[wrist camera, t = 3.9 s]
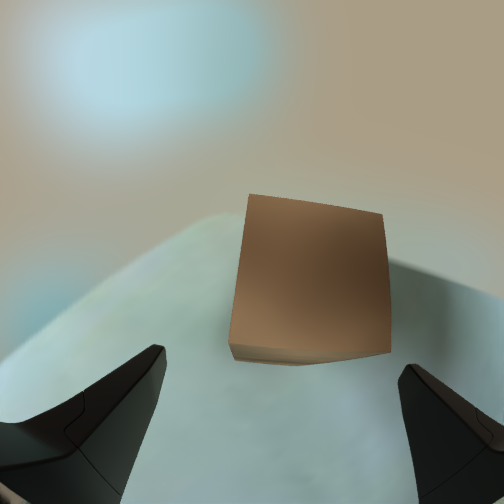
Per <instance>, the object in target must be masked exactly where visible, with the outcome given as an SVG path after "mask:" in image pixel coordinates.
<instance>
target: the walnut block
mask: <svg viewBox="0 0 504 504" xmlns="http://www.w3.org/2000/svg"><path fill="white" fill-rule="evenodd" d="M228 343H229V346H230V349H231V352H232V354H233V357H234V360H237V361H245V362H254V363H264V364H275V365H287V366H303V365H312V364H321V363H329V362H337V361H344V360H350V359H357V358H363V357H369V356H374V355H379V354H385V353H390V352H391V299H390V281H389V267H388V256H387V247H386V238H385V230H384V223H383V216H382V214H377V213H373V212H367V211H361V210H356V209H350V208H344V207H339V206H332V205H327V204H321V203H313V202H307V201H301V200H293V199H287V198H279V197H272V196H264V195H255V194H249V197H248V205H247V211H246V218H245V225H244V232H243V239H242V246H241V253H240V260H239V267H238V274H237V281H236V288H235V296H234V303H233V310H232V318H231V325H230V333H229V340H228Z"/></svg>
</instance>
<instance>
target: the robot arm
mask: <svg viewBox="0 0 504 504" xmlns="http://www.w3.org/2000/svg"><path fill="white" fill-rule="evenodd" d="M166 367H167V360H166V350H165V347H164V346H161V345H156V344H153V345H151V346H150V347H148V348H147V349H145V350H144V351H142V352H141V353H139V354H138V355H136V356H135V357H133V358H132V359H130V360H129V361H127V362H126V363H124V364H123V365H121V366H120V367H118V368H117V369H115V370H114V371H112V372H111V373H109V374H108V375H106V376H105V377H103V378H101V379H100V380H98V381H97V382H95V383H94V384H92V385H91V386H89V387H88V388H86V389H85V390H84V392H83V391H81V392H80V393H78V394H77V395H75V396H74V397H72V398H70V399H69V400H67V401H65V402H63V403H62V404H60V405H58V406H56V407H54V408H52V409H50V410H48V411H45V412H43V413H41V414H39V415H37V416H35V417H32V418H30V419H28V420H26V421H23V422H19V423H5V422H0V504H120V501H121V499H122V495H123V493H124V490H125V487H126V484H127V481H128V479H129V476H130V473H131V470H132V468H133V465H134V462H135V460H136V457H137V454H138V452H139V449H140V446H141V444H142V441H143V439H144V436H145V433H146V431H147V428H148V426H149V423H150V421H151V418H152V416H153V413H154V410H155V408H156V405H157V402H158V398H159V394H160V390H161V387H162V383H163V379H164V375H165V371H166ZM398 389H399V395H400V401H401V408H402V415H403V420H404V424H405V428H406V432H407V437H408V441H409V446H410V451H411V456H412V461H413V466H414V472H415V478H416V484H417V491H418V499H419V504H504V426H503V425H501V424H500V423H498V422H496V421H495V420H493V419H492V418H490V417H489V416H487V415H486V414H484V413H483V412H482V411H480V410H479V409H478V408H476V407H475V406H473V405H472V404H471V403H469V402H468V401H467V400H465V399H464V398H463V397H461V396H460V395H459V394H457V393H456V392H454V391H453V390H452V389H450V388H449V387H448V386H446V385H445V384H444V383H442V382H441V381H439V380H438V379H437V378H435V377H434V376H433V375H431V374H430V373H429V372H427V371H426V370H424V369H423V368H422V367H420V366H419V365H418V364H408V365H406V367H405V368H404V370H403V372H402V374H401V375H400V377H399V379H398Z"/></svg>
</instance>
